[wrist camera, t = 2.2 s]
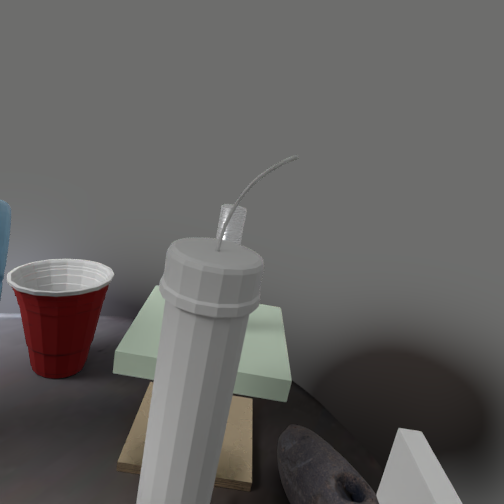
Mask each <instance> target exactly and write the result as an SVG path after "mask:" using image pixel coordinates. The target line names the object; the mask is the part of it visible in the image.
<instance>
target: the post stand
mask: <svg viewBox="0 0 504 504" xmlns="http://www.w3.org/2000/svg"><path fill="white" fill-rule="evenodd" d="M232 207H233V205H232V204H222V207H221V213H220V219H219V224H218V231H217V236H216V239H219V236H220V234H221V231H222V228H223V225H224V223H225V221H226V218H227V216H228V214H229V212H230V210H231V209H232ZM246 211H247V209H246V208H244V207H241V206H237V208H236V209H235V211H234V213H233V214H232V217H231V219H230V221H229V223H228V225H227V228H226V231H225V234H224V236H223V240H225V241H230V242H233V243H236V244H240V243H241V238H242V232H243V227H244V222H245V216H246ZM153 383H154V382H150V384H149V386H148V388H147V391H146V393H145V396H144V398H143V401H142V403H141V406H140V408H139V410H138V413H137V415H136V418H135V420H134V423H133V425H132V428H131V430H130V432H129V435H128V437H127V440H126V442H125V445H124V447H123V450H122V452H121V454H120V457H119V459H118V462H117V470H116V471H121V472H128V473H134V474H141V467H142V460H143V453H144V446H145V439H146V432H147V425H148V418H149V411H150V404H151V397H152V390H153ZM251 485H252V399H251V398H245V397H239V396H232V400H231V405H230V410H229V415H228V420H227V424H226V429H225V434H224V439H223V444H222V448H221V453H220V458H219V463H218V468H217V473H216V477H215V482H214V486H217V487H224V488H230V489H236V490H243V491H249V492H250V489H251Z"/></svg>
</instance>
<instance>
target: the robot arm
mask: <svg viewBox="0 0 504 504" xmlns="http://www.w3.org/2000/svg"><path fill="white" fill-rule="evenodd" d="M10 225H11V208H10V206H9V205H8V203H6V202H5V201H3V200H0V299H1V292H2V280H3V277H4V270H5V266H6V259H7V253H8V245H9V236H10ZM376 496H377V499H378V502H379V504H462V502H461V500H460V498H459V497H458V495H457V493H456V491H455V490H454V488H453V486H452V484H451V483H450V481H449V479H448V477H447V476H446V474H445V472H444V470H443V468H442V467H441V465H440V463H439V461H438V460H437V458H436V456H435V455H434V453H433V451H432V449H431V447H430V446H429V444H428V442H427V440H426V439H425V437H424V435H423V433H422V432H421V431H415V430H409V429H402V428H399V429H398V431H397V434H396V438H395V440H394V444H393V446H392V449H391V452H390V456H389V458H388V462H387V464H386V468H385V470H384V473H383V476H382V479H381V482H380V485H379V488H378V491H377V495H376Z"/></svg>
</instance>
